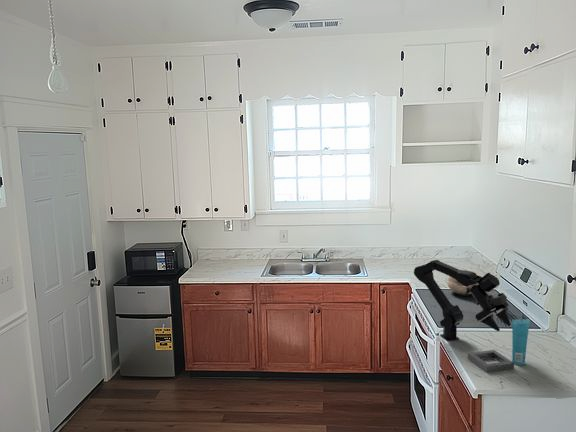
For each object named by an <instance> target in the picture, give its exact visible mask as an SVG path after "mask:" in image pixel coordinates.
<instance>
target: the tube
mask: <svg viewBox="0 0 576 432" xmlns="http://www.w3.org/2000/svg"><path fill="white" fill-rule="evenodd" d="M530 323H531V319H530V318H529V319H511V327H512V341H511V342H512V344H511V345H512V349H511V351H512V354H511V355H512V357H511V361H512V362H513V363H514V365H519V366H523V365H525V363H526V354H527V345H528V336H529V329H530Z"/></svg>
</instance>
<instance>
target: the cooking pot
mask: <svg viewBox="0 0 576 432" xmlns="http://www.w3.org/2000/svg"><path fill="white" fill-rule="evenodd" d="M475 273H476V272H475ZM476 275H478V276H481V275H480V274H478V273H476ZM446 281H447V282H446V283H447V286H448V289H450V290H451V291H452V292H454V293H455V294H457V295H458V296H462V297H467V296H470V295H472V294H471V293H469V294H466V291H467V288H468V287H470V288H471V287H472V286H473V285H470V286H467V287H466V286H463V285H462V284H460V283H459V282H457V280H456V279H455V278H453V277H450V276H448V278H447V280H446ZM478 284H479V283H477V284H474V285H478Z"/></svg>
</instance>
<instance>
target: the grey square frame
mask: <svg viewBox="0 0 576 432" xmlns="http://www.w3.org/2000/svg"><path fill="white" fill-rule="evenodd" d="M492 358H493V359H494V360H495V361H497V362H493V363H487V362H486V361H484V360H485V359H492ZM467 359H468V360H469V361H470V362H471V363H472V364H474V365H475V364H476V365H475V366H477V367H478V368H480V369H481V370H482V371H483V370H484V372H485V373H486V372H487V373H493V372H501V371H507V370H508V371H509V370H514V369H515V364H514V363H513V362H512V360H510V359H509V358H507V357H505V356H504V355H503V354H502V353H500V352H499V351H497V350H495V349H490V350H482V351H474V352H468V353H467Z"/></svg>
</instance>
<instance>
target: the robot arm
mask: <svg viewBox="0 0 576 432" xmlns="http://www.w3.org/2000/svg"><path fill="white" fill-rule="evenodd" d="M433 271H437V272H439V273H442V274H444V275H445V276H448V277H449V276H450V277H453V278H455V279H456V280H457V282H459V283H460V284H462V285H463V286H466V287H467V286H470V285H473V286H472V287H471V288H470V287H468V288H467V291H466V294H469V293H471V294H470V295H472V296H473V298H474V299H475V301H476V306H480V308H481V310H480V311H479V312H478V313H477V314H475V316H474V317H475V319H476V321H477V322H480V323H483V324H485V325H486V326H488V327H490V328H491V329H493V330H495V331H496V332H500V331H501V329H500V327H499V326H498V323H496V320H495V319H494V313H495V316H497V318H499V319H500V320H501V321H502V322H503V323H504V324H505V325H507V326H508V327H510V326H512V323H511V321H510V318H509V315H508V309H509V306H510V305H509V304H508V302H507V299H508V297H507V295H505V293H504V292H500V293H497V296H493V295H492V294H490V295H489V293H490V292H491V291H493V290H495V289H496V288H497V287H498V286H500V284H501V283H500V280H499V278H498V277H496V276H495V275H494V274H491V272H486V273H485V274H484V275H483V276H481V275H480V276H478V275H476V272H474V271H471V270H463V269H458V268H457V267H454V266H451V265H449V264H447V263H444V262H442V261H440V260H439V259H434V260H430V261H429V262H427V263H426V264H421V265H418V266H415V268H414V269H413V275H414V276H415V277H416V279H417V280H418V281H419V282H421V283H423V284H424V285H425V286H426V287H427V289H428V291H429V292H430V294H431V295H432V297H433V298H434V299H435V301H436V302H437V304H438V305H439V307H440V309H441V310H442V316H443V319H441V320H439V323H440V326H441V327H442V328H443V330H442V334H441V333H440V335H439V336H440V337H442V339H444V340H446V341H447V342H448V341H455V340H460V337H458V336H457V335H458V333H457V332H458V331H457V329H458V328H457V326H458V325H460V324H461V323H462V322H463V320H464V314H463V311H462V310H461V309H460V307H459V305H457V304H456V305H453V304H452V303H451V302H450V300H449V298H447V296H446V294H445V293H444V291H443V290H442V288H441V287H440V286H439V284H438V283H437V282H436V280H435V279H434V272H433ZM477 283H479V284H478V285H474V284H477Z"/></svg>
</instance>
